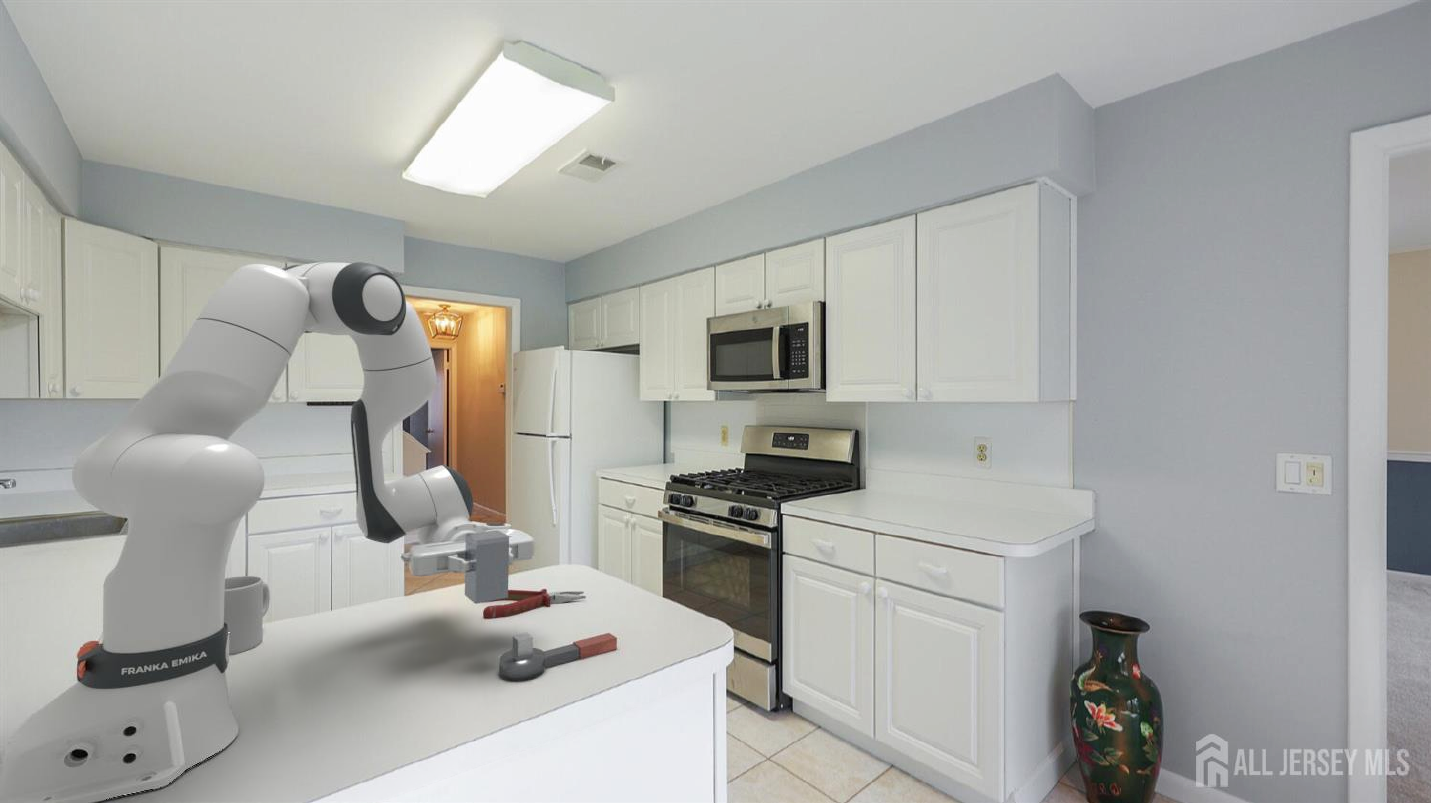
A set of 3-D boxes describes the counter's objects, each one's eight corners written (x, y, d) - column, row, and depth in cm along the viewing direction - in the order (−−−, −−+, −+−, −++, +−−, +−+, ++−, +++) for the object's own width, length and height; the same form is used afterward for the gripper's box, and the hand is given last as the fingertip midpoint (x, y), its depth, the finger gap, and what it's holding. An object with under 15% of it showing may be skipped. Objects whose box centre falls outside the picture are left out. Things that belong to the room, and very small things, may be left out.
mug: (235, 657, 101) (236, 591, 101) (185, 655, 101) (186, 589, 101) (288, 630, 113) (289, 570, 113) (244, 628, 113) (245, 569, 113)
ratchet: (508, 685, 93) (509, 649, 93) (492, 669, 99) (493, 634, 99) (622, 653, 106) (623, 620, 106) (603, 640, 111) (603, 609, 111)
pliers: (590, 609, 128) (590, 596, 128) (482, 622, 120) (483, 608, 120) (579, 592, 139) (579, 580, 139) (480, 602, 131) (480, 590, 131)
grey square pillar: (475, 603, 96) (476, 540, 96) (464, 594, 100) (465, 534, 100) (508, 597, 99) (509, 536, 99) (496, 588, 103) (497, 530, 103)
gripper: (398, 536, 103) (420, 553, 92) (516, 522, 116) (548, 536, 105) (397, 573, 103) (419, 595, 92) (516, 555, 116) (547, 572, 106)
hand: (489, 563), depth 99 cm, fingers closed on grey square pillar, 5 cm apart
